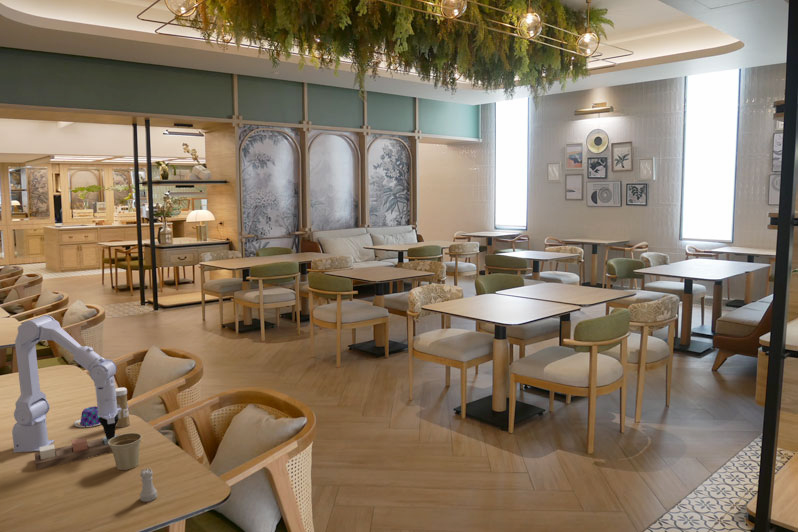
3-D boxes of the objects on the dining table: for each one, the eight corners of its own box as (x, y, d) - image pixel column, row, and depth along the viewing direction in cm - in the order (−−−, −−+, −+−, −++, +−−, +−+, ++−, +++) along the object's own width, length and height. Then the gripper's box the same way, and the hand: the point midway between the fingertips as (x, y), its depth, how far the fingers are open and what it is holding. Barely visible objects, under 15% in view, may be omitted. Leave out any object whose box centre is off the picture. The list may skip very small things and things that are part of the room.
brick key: (73, 453, 195) (72, 444, 195) (72, 448, 198) (71, 440, 198) (87, 449, 197) (86, 441, 197) (86, 445, 200) (85, 437, 200)
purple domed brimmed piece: (66, 427, 222) (65, 413, 222) (93, 415, 234) (92, 401, 233) (91, 430, 218) (90, 416, 217) (118, 418, 229) (116, 404, 229)
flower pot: (111, 476, 182) (108, 448, 181) (109, 463, 190) (107, 437, 189) (145, 468, 186) (143, 440, 185) (142, 456, 194) (140, 430, 193)
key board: (36, 469, 188) (35, 463, 187) (35, 459, 195) (34, 453, 195) (125, 449, 201) (124, 443, 200) (120, 439, 208) (120, 434, 208)
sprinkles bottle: (131, 425, 221) (127, 389, 219) (117, 428, 218) (113, 392, 216) (128, 421, 224) (125, 386, 223) (115, 424, 222) (111, 388, 220)
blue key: (105, 450, 200) (104, 441, 199) (103, 445, 203) (102, 437, 203) (118, 447, 202) (117, 438, 202) (117, 442, 205) (116, 434, 205)
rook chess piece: (143, 494, 170) (140, 467, 169) (159, 493, 170) (157, 466, 169) (137, 503, 165) (134, 474, 164) (154, 501, 166) (152, 473, 165)
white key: (40, 460, 190) (39, 451, 190) (40, 456, 194) (39, 447, 193) (55, 457, 192) (54, 448, 192) (54, 452, 196) (53, 444, 195)
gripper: (123, 401, 196) (127, 442, 198) (116, 389, 209) (120, 428, 210) (98, 406, 193) (103, 448, 194) (93, 394, 205) (97, 433, 207)
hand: (110, 438), depth 202 cm, fingers closed, pressing on blue key
